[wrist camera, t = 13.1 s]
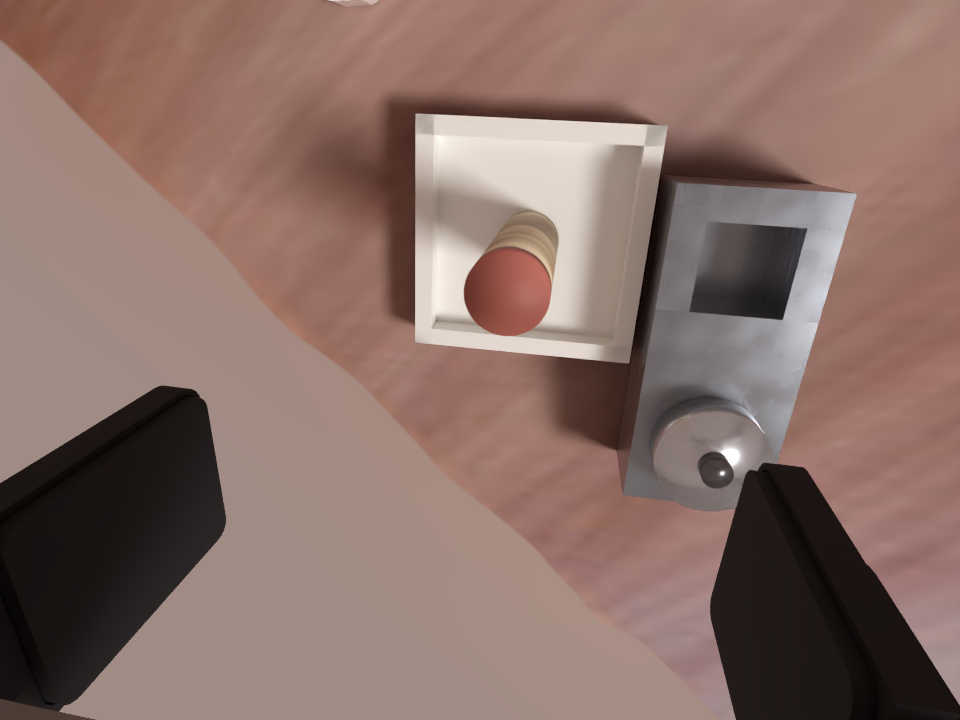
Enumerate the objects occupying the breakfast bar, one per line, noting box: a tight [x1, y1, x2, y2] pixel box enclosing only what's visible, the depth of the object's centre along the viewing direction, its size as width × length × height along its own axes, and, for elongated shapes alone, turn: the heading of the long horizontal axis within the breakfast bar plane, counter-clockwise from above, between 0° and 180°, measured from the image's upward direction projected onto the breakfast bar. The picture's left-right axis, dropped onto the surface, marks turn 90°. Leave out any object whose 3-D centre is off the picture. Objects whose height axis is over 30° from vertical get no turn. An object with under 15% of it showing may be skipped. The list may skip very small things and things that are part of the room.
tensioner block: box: [617, 175, 857, 511], centre depth 31 cm, size 18×8×8 cm, turn 177°
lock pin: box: [464, 211, 559, 336], centre depth 27 cm, size 3×3×12 cm
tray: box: [415, 114, 668, 364], centre depth 33 cm, size 13×13×2 cm
